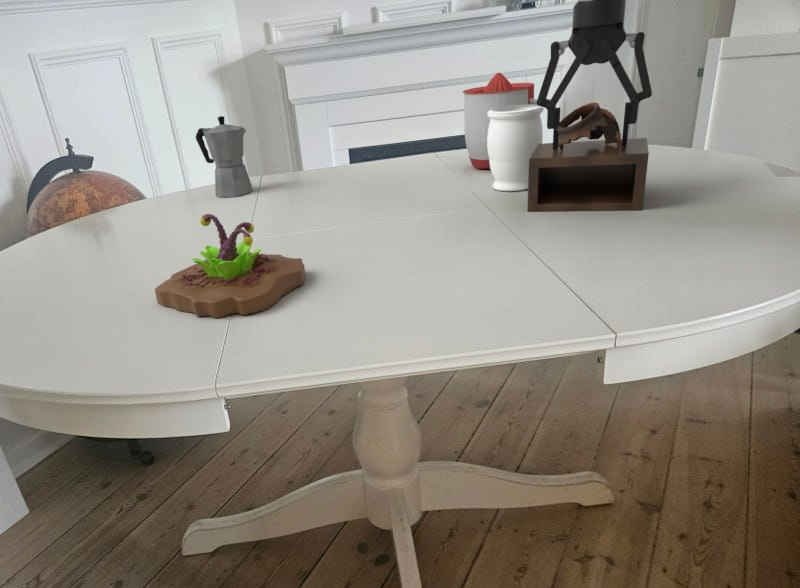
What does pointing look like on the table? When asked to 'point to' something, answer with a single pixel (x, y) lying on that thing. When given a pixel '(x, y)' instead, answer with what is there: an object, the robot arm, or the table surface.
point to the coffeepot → (226, 158)
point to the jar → (513, 144)
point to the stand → (588, 176)
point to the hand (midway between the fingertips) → (589, 146)
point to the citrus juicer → (476, 112)
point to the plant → (231, 278)
